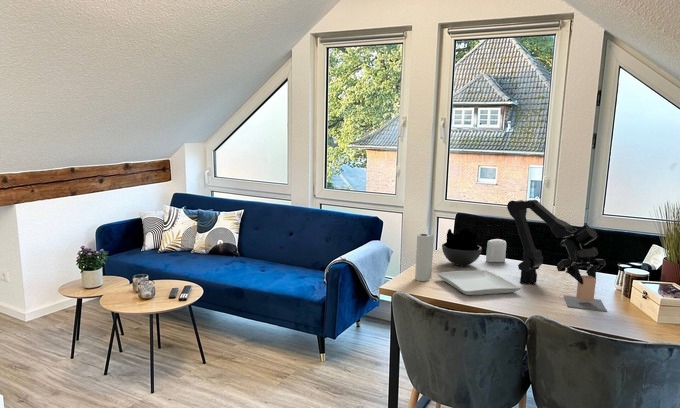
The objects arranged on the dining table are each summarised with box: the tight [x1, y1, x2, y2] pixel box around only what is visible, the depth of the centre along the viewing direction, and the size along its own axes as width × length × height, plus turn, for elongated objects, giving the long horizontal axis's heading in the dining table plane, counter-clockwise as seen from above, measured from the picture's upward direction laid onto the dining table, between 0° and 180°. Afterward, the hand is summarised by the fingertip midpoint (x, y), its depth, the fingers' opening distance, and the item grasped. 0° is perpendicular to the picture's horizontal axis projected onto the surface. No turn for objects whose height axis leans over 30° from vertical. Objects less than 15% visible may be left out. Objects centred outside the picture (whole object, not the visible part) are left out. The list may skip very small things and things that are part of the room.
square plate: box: [435, 269, 522, 296], centre depth 216 cm, size 27×27×4 cm
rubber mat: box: [563, 294, 608, 313], centre depth 197 cm, size 14×14×1 cm
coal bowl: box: [441, 228, 483, 267], centre depth 250 cm, size 20×20×19 cm
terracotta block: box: [575, 275, 597, 301], centre depth 196 cm, size 5×4×10 cm
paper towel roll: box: [414, 233, 435, 282], centre depth 222 cm, size 7×6×21 cm
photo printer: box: [485, 238, 507, 263], centre depth 259 cm, size 10×4×12 cm, turn 98°
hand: (588, 283), depth 194 cm, fingers closed on terracotta block, 5 cm apart
